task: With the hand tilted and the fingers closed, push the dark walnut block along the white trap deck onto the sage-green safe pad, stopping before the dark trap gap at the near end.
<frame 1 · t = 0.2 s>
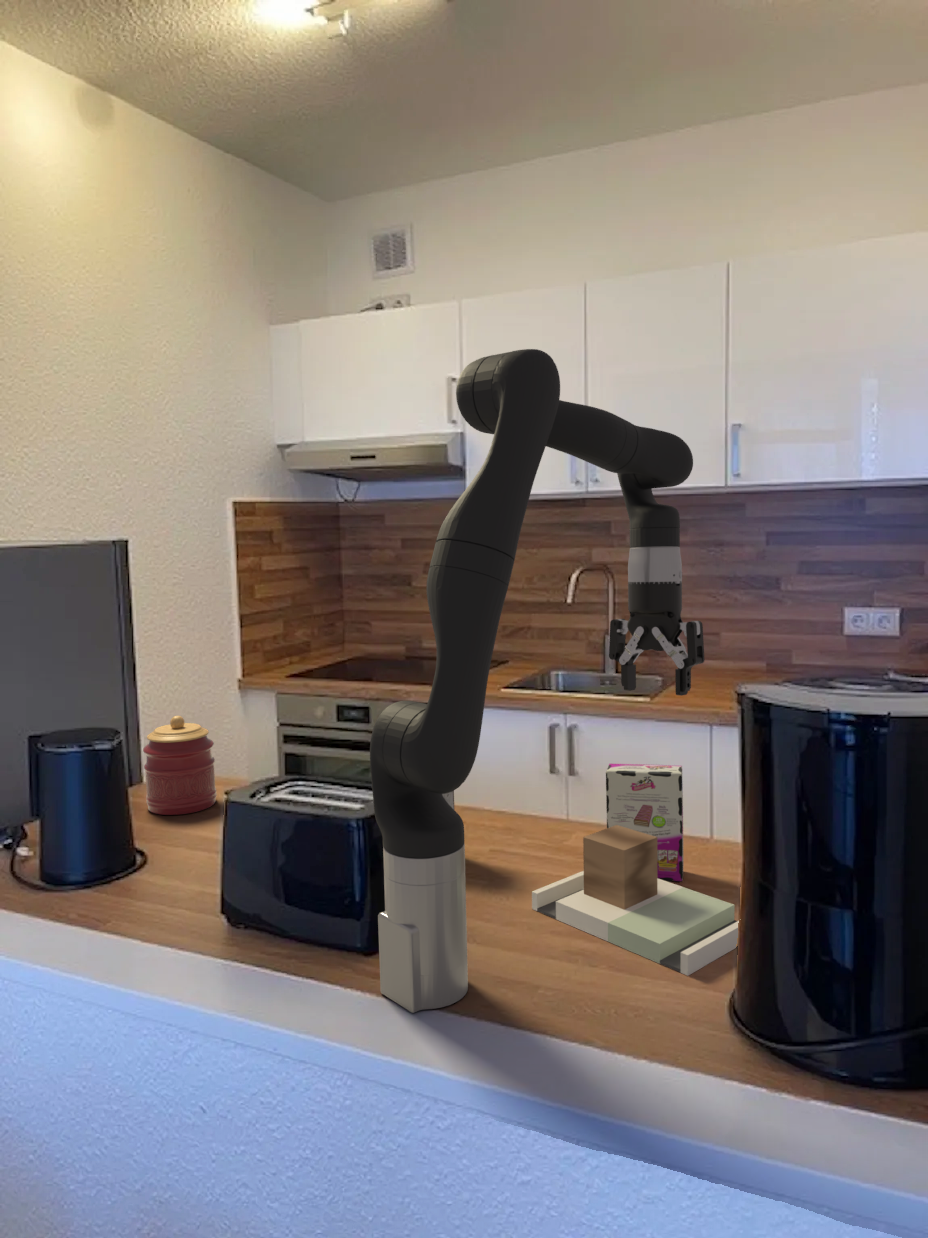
hand: (655, 692, 130), 28 cm above the counter, tool pointing down, fingers open, 8 cm apart
coffee box: (424, 860, 145), on the counter
canister: (182, 806, 176), on the counter
trap deck: (644, 921, 121), on the counter
walnut block: (620, 894, 123), point 2 cm above the counter, touching trap deck
candy bar box: (645, 875, 137), on the counter
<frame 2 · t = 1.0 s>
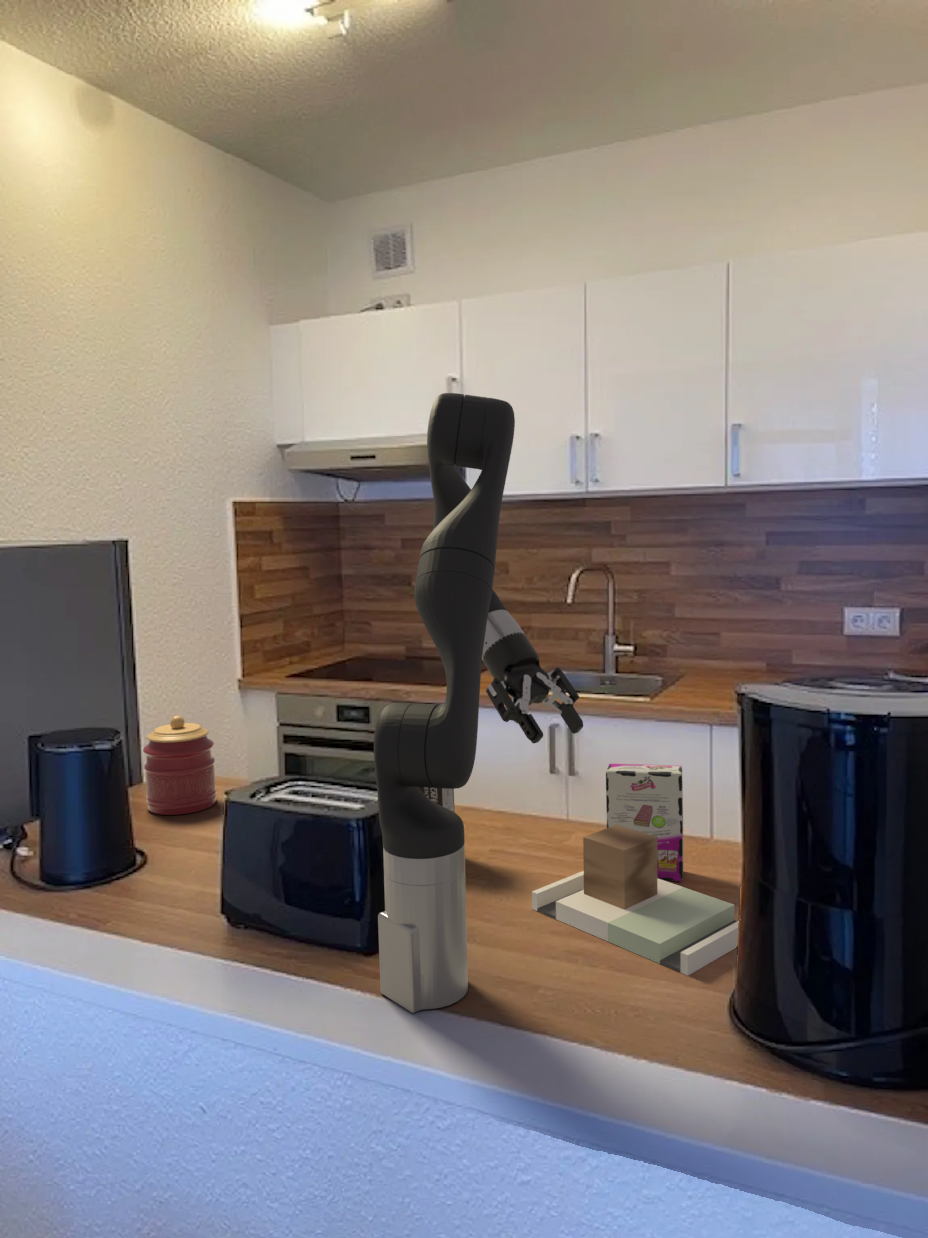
hand: (559, 735, 130), 23 cm above the counter, tool tilted 45°, fingers open, 7 cm apart
nothing on the counter moved.
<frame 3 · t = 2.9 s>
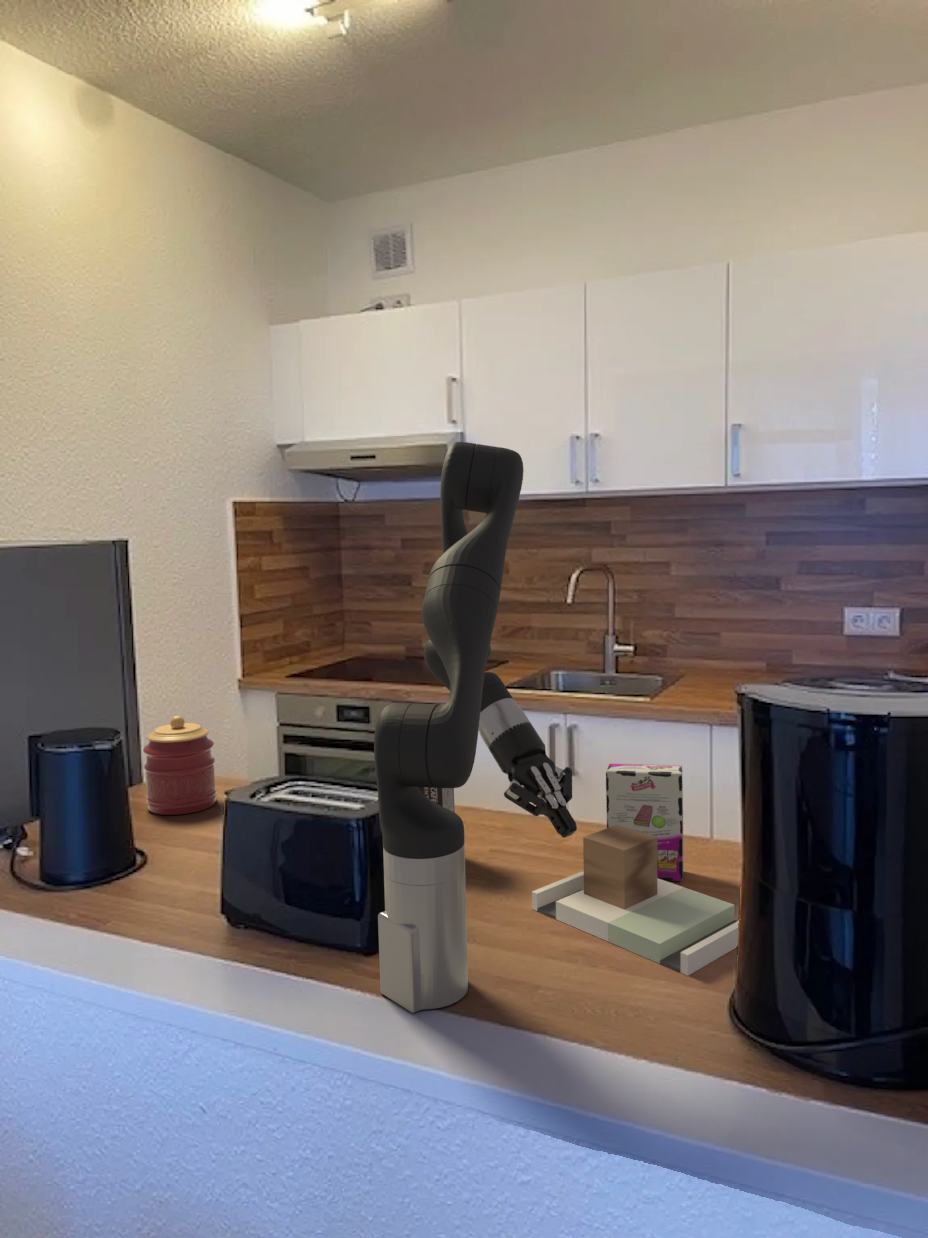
hand: (570, 833, 130), 9 cm above the counter, tool tilted 45°, fingers closed
nothing on the counter moved.
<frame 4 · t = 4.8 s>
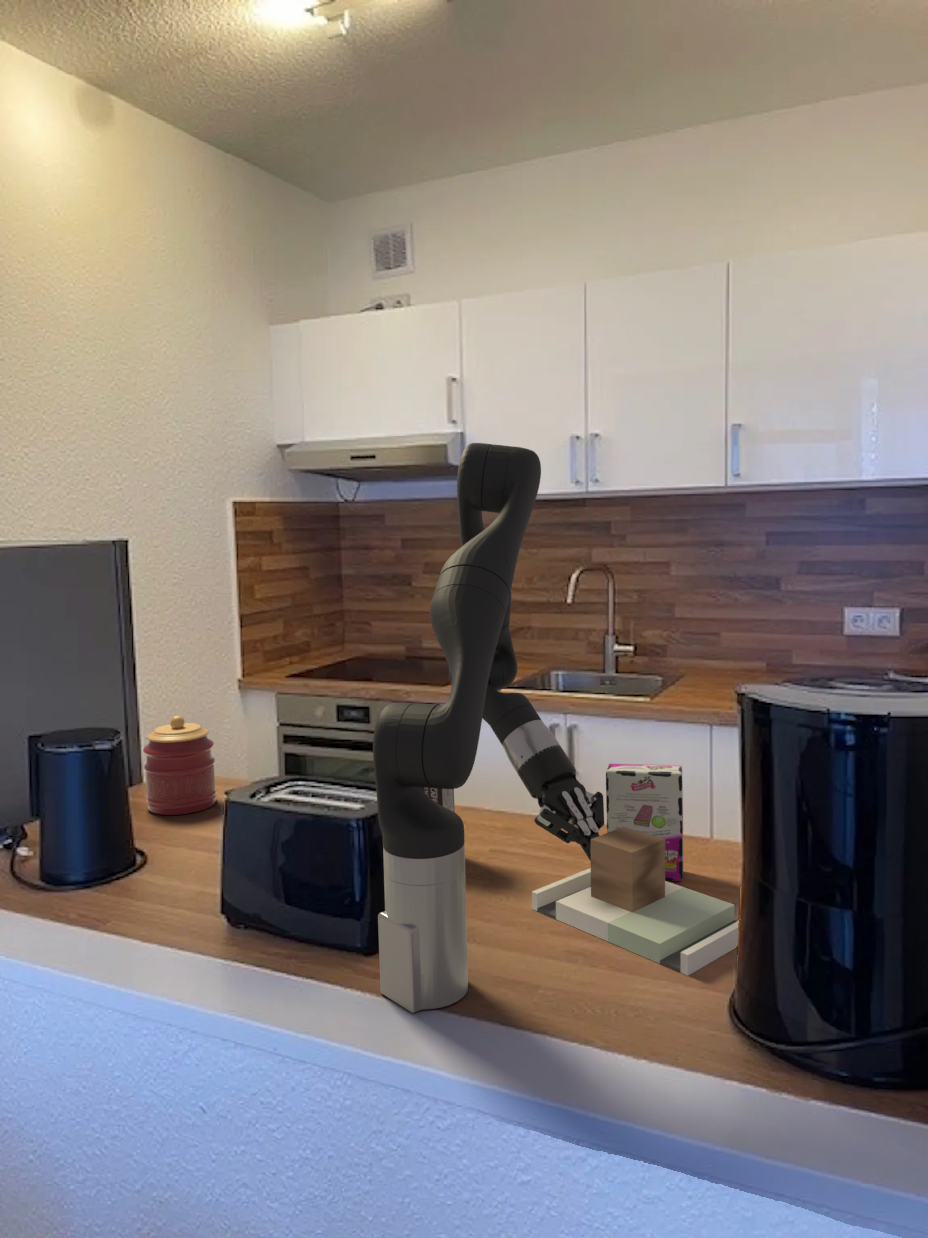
hand: (603, 861, 125), 6 cm above the counter, tool tilted 45°, fingers closed
walnut block: (627, 896, 123), point 3 cm above the counter
everything else where it was.
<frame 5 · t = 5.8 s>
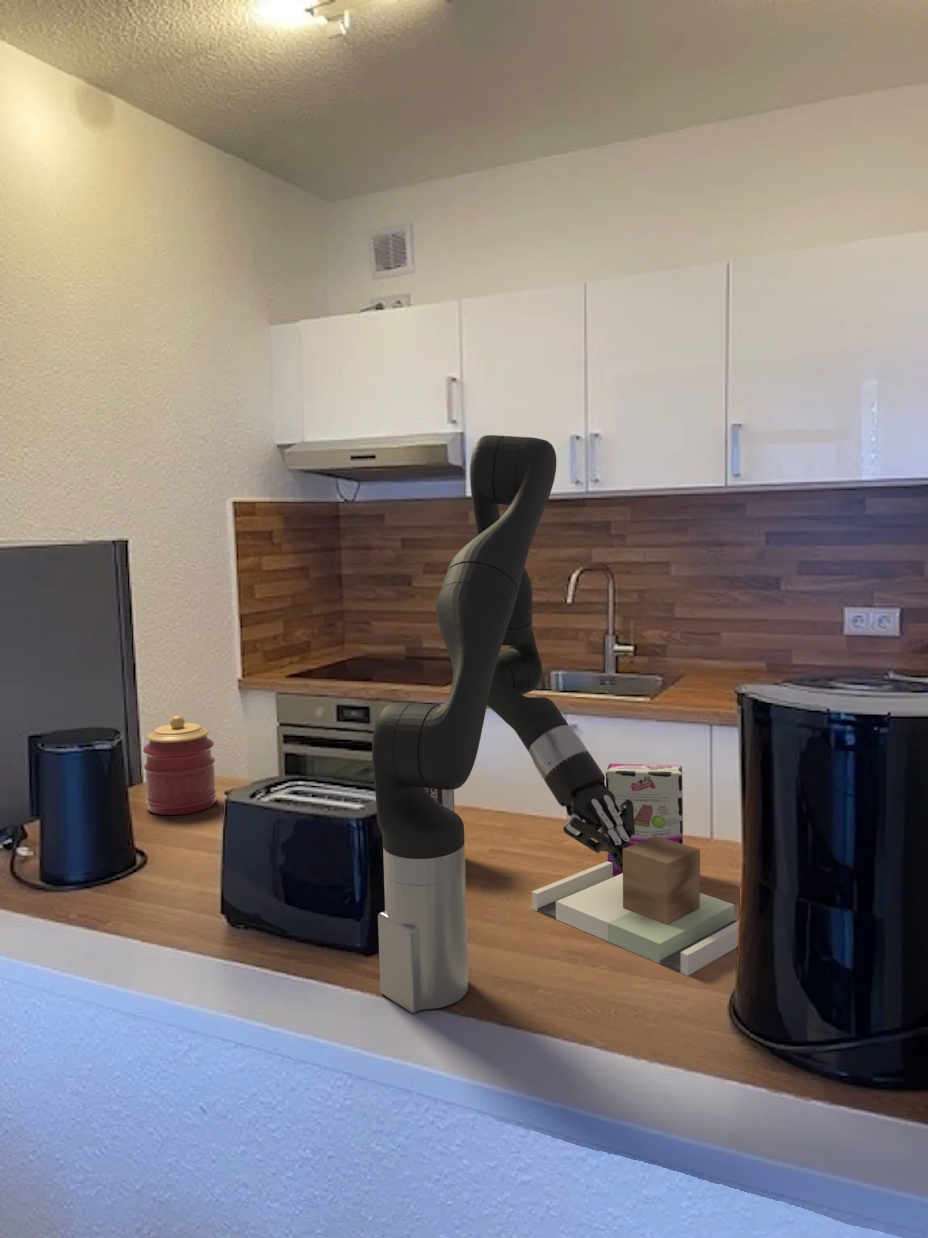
hand: (635, 872, 121), 6 cm above the counter, tool tilted 45°, fingers closed
walnut block: (661, 908, 119), point 3 cm above the counter, touching gripper
everything else where it was.
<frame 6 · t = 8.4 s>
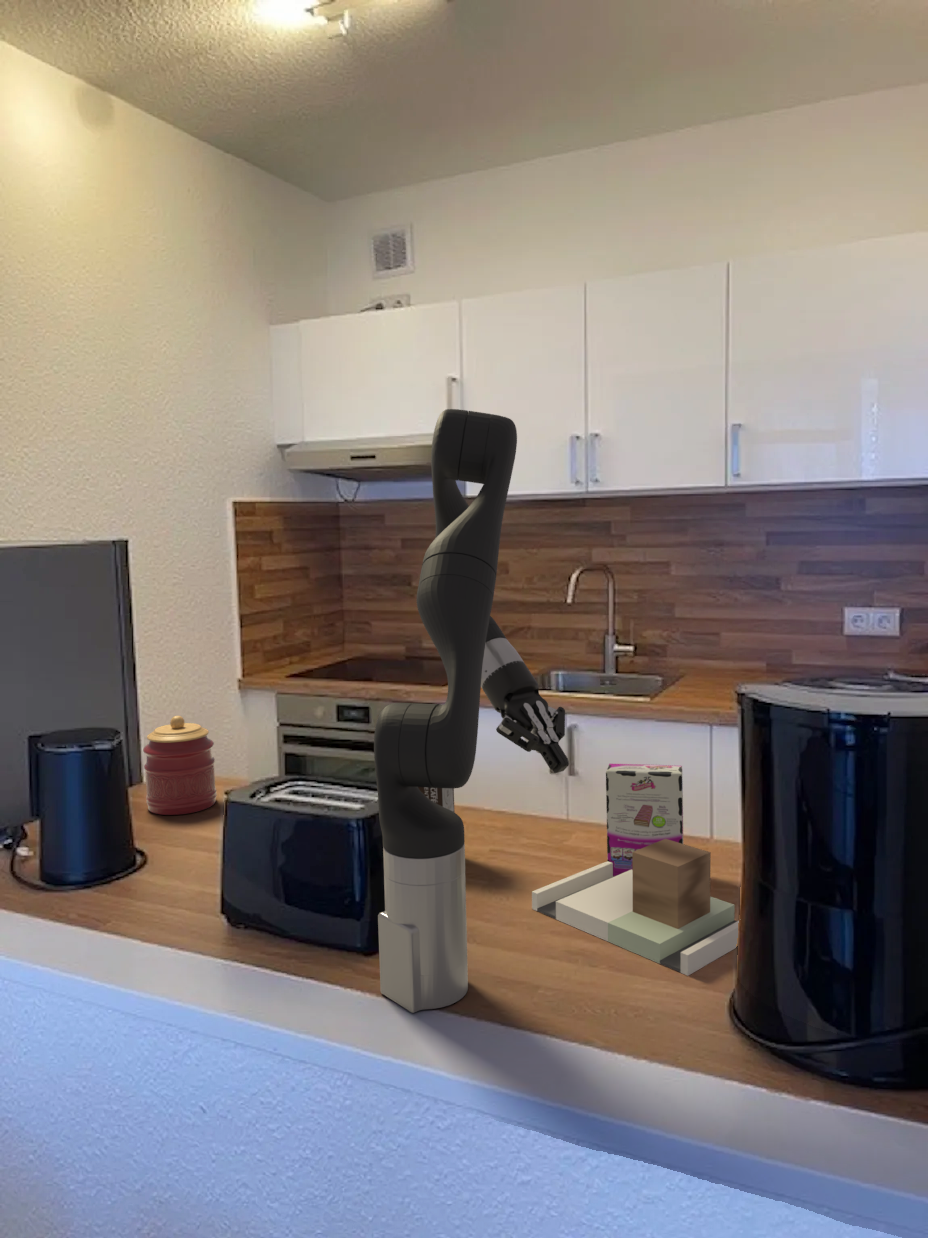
hand: (562, 769, 130), 18 cm above the counter, tool tilted 45°, fingers closed
walnut block: (671, 912, 118), point 2 cm above the counter, touching trap deck
everything else where it was.
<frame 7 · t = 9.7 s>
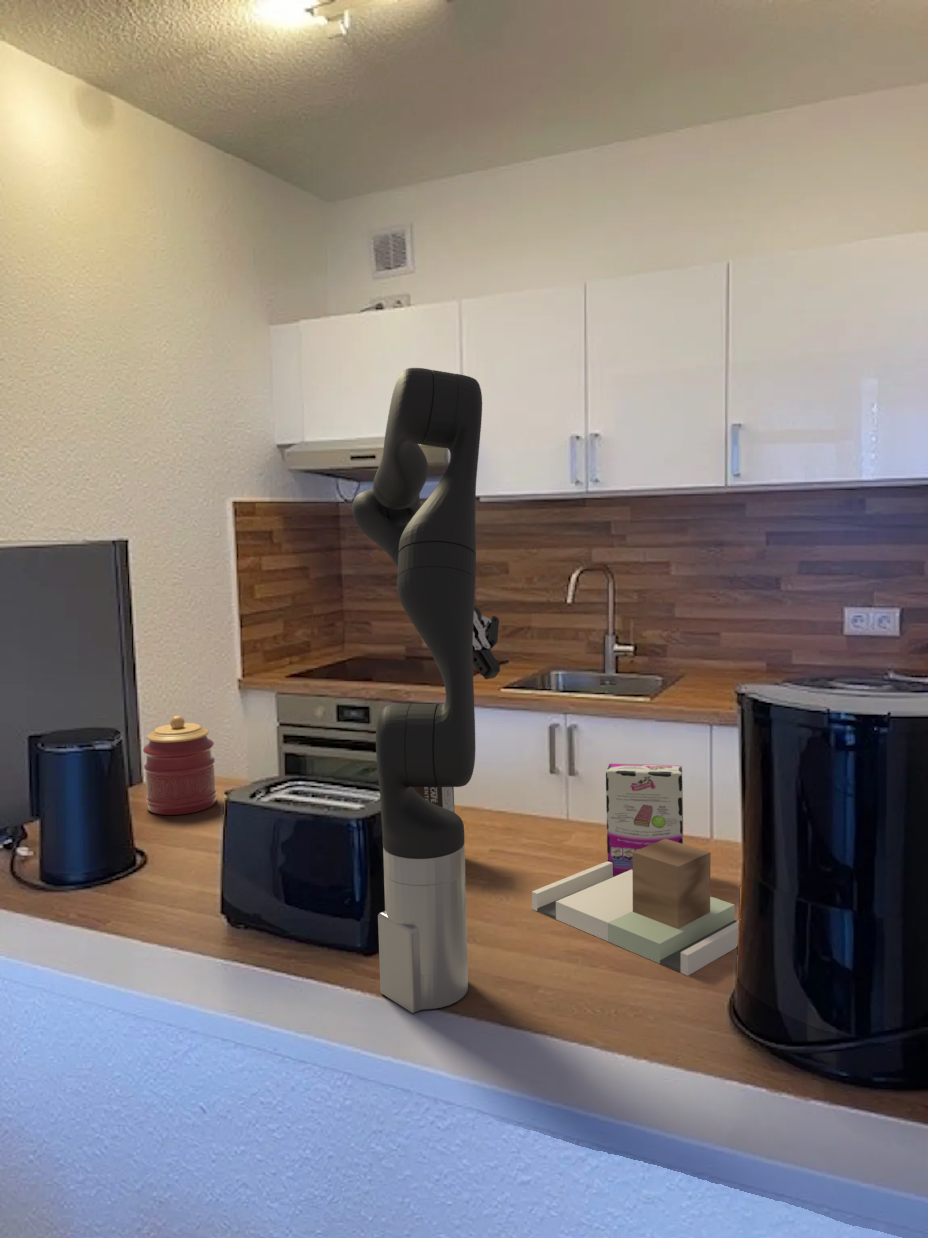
hand: (493, 675, 127), 32 cm above the counter, tool tilted 45°, fingers closed
nothing on the counter moved.
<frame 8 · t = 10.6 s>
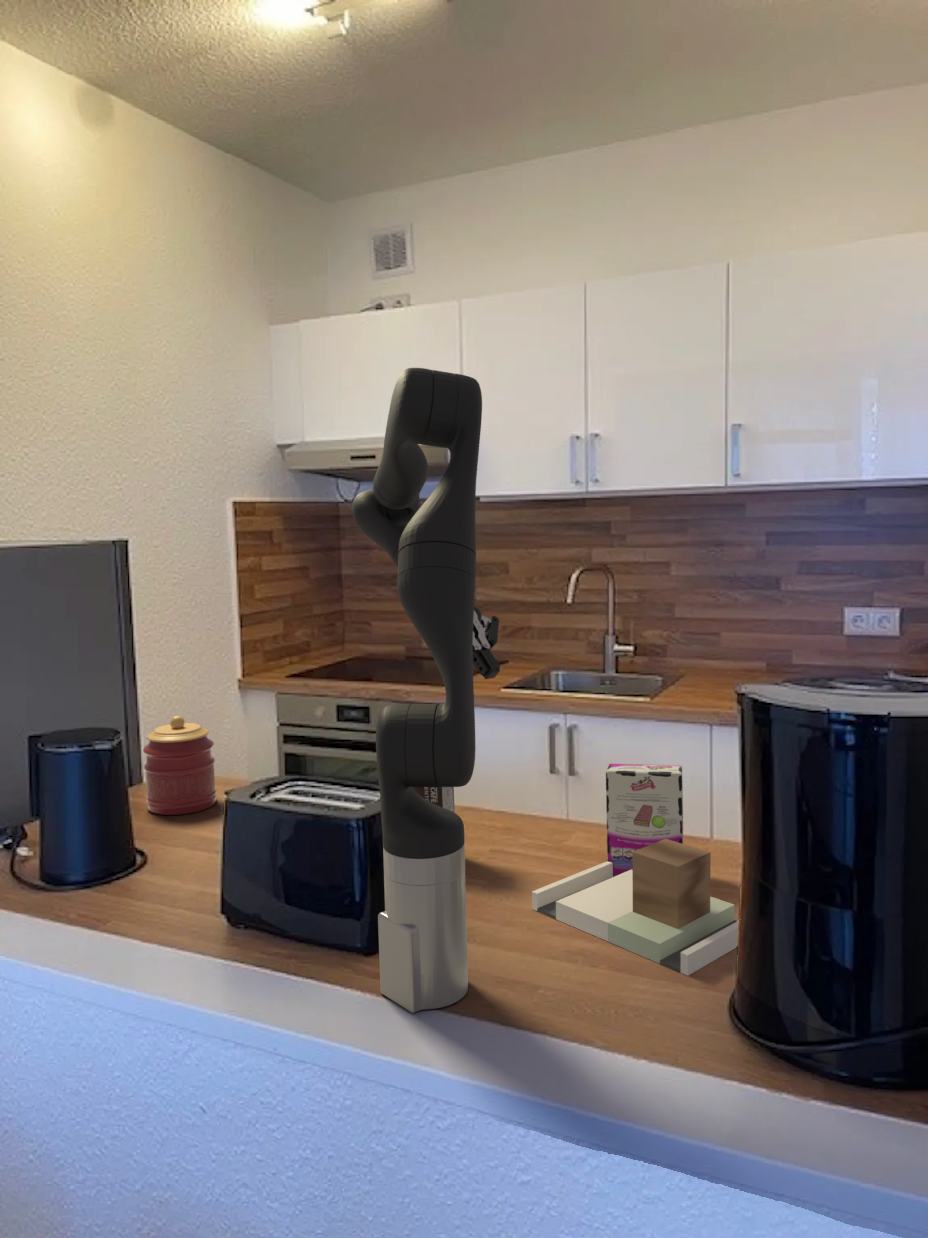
hand: (493, 675, 127), 32 cm above the counter, tool tilted 45°, fingers closed
nothing on the counter moved.
at the end: walnut block 0.5 cm from the target spot, point 2.5 cm above the counter; walnut block tilted 0°; walnut block moved 8.1 cm from its start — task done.
